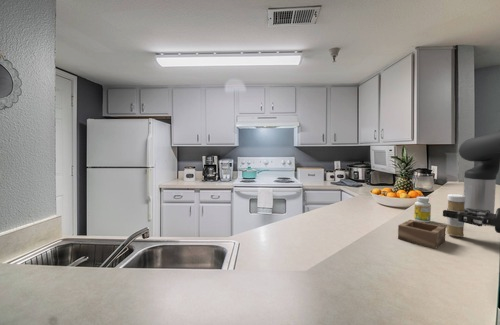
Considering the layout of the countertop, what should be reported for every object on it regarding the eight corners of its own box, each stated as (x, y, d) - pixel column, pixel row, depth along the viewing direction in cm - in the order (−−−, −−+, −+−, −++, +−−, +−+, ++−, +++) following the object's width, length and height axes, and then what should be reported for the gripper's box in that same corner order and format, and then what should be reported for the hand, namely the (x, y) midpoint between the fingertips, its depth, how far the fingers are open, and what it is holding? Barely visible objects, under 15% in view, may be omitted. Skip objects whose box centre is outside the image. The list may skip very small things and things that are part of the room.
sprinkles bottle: (448, 231, 85) (449, 193, 84) (465, 234, 81) (466, 195, 80) (444, 234, 82) (446, 194, 81) (462, 238, 78) (464, 196, 77)
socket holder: (409, 232, 86) (410, 219, 85) (445, 240, 78) (445, 226, 78) (397, 238, 80) (398, 225, 79) (435, 248, 72) (435, 233, 71)
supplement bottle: (432, 223, 95) (433, 199, 95) (416, 222, 97) (417, 198, 97) (427, 219, 101) (428, 196, 100) (412, 218, 102) (413, 195, 102)
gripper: (522, 206, 74) (451, 198, 87) (517, 215, 65) (439, 204, 79) (521, 230, 74) (450, 218, 88) (516, 242, 66) (438, 226, 79)
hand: (445, 211), depth 83 cm, fingers closed on sprinkles bottle, 4 cm apart
